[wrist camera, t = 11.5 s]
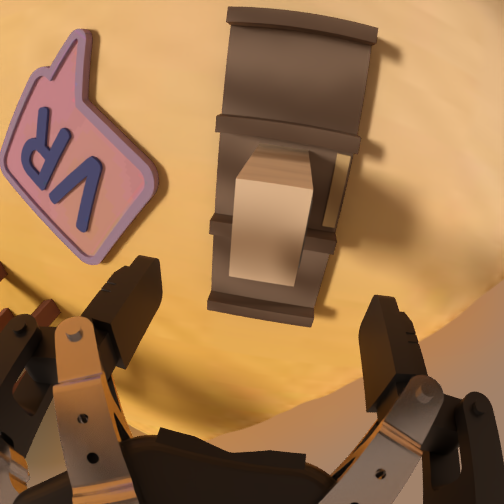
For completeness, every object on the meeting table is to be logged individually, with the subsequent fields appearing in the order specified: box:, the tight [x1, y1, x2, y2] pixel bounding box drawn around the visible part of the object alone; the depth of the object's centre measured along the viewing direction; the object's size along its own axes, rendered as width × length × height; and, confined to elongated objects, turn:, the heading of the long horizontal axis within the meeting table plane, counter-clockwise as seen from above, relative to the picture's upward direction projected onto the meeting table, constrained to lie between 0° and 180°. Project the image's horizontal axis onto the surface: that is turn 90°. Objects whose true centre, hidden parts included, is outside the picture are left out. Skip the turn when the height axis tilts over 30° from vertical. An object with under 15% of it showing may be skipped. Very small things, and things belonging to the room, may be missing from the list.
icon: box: [0, 29, 159, 265], centre depth 24 cm, size 19×2×20 cm
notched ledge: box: [207, 7, 378, 327], centre depth 23 cm, size 26×10×2 cm, turn 174°
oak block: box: [229, 143, 313, 287], centre depth 19 cm, size 6×4×9 cm, turn 175°
